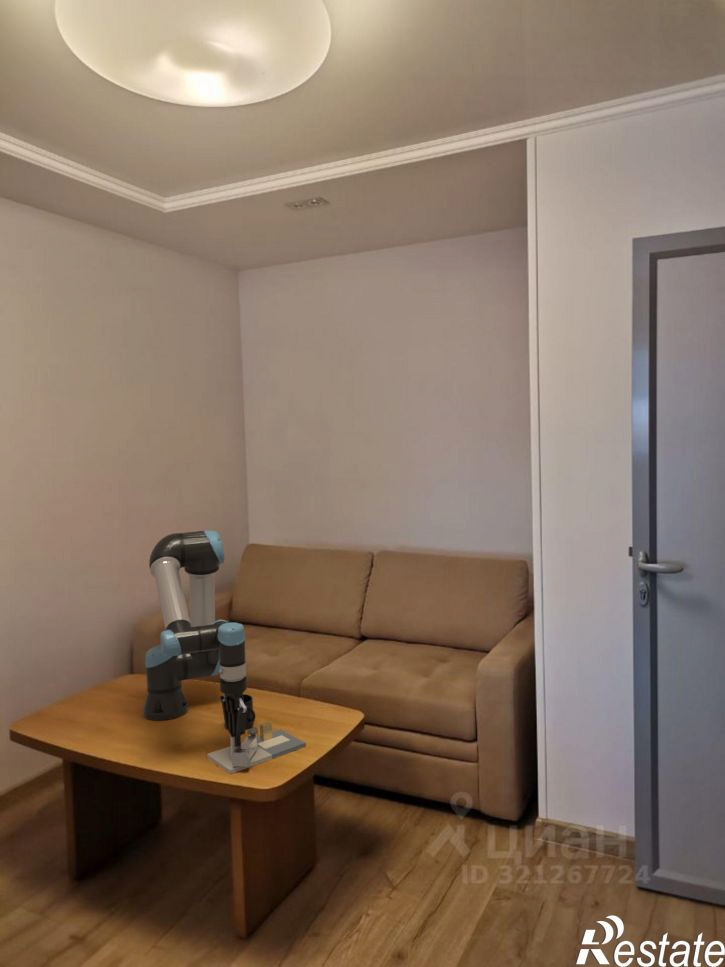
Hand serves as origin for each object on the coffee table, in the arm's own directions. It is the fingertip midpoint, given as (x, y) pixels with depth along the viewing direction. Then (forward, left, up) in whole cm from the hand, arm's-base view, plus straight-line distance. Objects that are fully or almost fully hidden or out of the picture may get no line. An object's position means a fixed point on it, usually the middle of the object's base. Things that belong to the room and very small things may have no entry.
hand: (236, 755), depth 214 cm
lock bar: (+2, +2, -1) cm, 3 cm away
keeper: (-6, +14, -1) cm, 15 cm away
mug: (-23, +15, -3) cm, 27 cm away
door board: (-3, +8, -3) cm, 9 cm away
